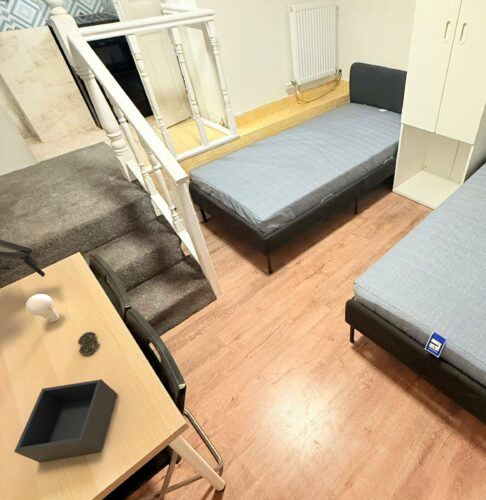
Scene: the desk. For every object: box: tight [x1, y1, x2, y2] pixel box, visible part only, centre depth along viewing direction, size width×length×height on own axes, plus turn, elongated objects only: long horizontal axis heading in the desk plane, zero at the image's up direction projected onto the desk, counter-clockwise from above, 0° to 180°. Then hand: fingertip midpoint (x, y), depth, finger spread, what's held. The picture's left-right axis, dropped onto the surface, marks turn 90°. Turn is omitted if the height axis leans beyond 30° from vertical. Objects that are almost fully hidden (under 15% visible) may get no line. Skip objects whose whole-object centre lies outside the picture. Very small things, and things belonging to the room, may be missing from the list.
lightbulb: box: [25, 293, 60, 323], centre depth 99 cm, size 6×6×11 cm
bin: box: [13, 378, 118, 463], centre depth 78 cm, size 13×13×9 cm
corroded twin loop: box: [77, 331, 99, 355], centre depth 96 cm, size 5×8×1 cm, turn 35°
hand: (21, 291), depth 97 cm, fingers open, 13 cm apart
